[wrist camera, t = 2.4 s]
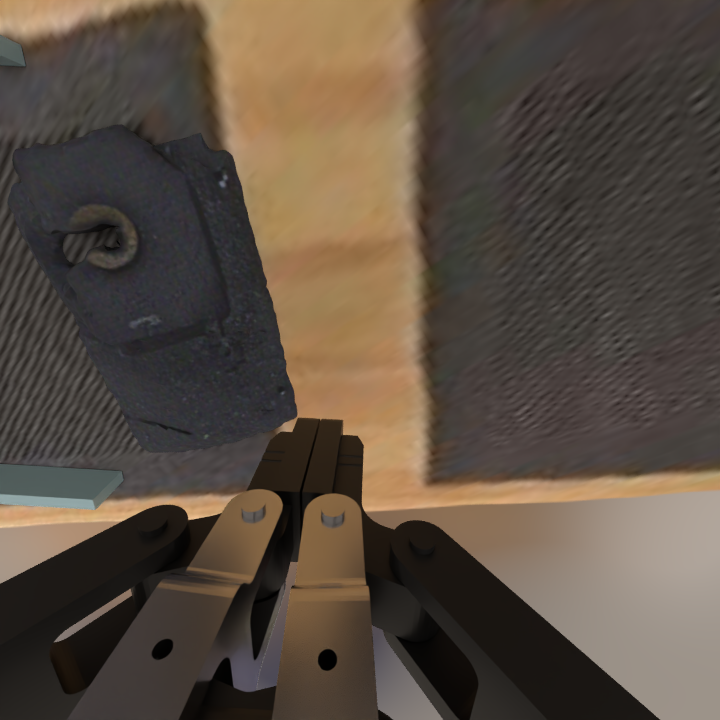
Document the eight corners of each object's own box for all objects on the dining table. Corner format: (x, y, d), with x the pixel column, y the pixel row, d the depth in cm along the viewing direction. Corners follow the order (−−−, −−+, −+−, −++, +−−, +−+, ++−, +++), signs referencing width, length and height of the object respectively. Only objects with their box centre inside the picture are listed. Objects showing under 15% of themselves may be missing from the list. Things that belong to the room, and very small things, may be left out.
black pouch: (139, 448, 31) (100, 485, 27) (6, 168, 24) (-79, 156, 19) (309, 422, 30) (298, 458, 25) (227, 116, 22) (191, 90, 18)
